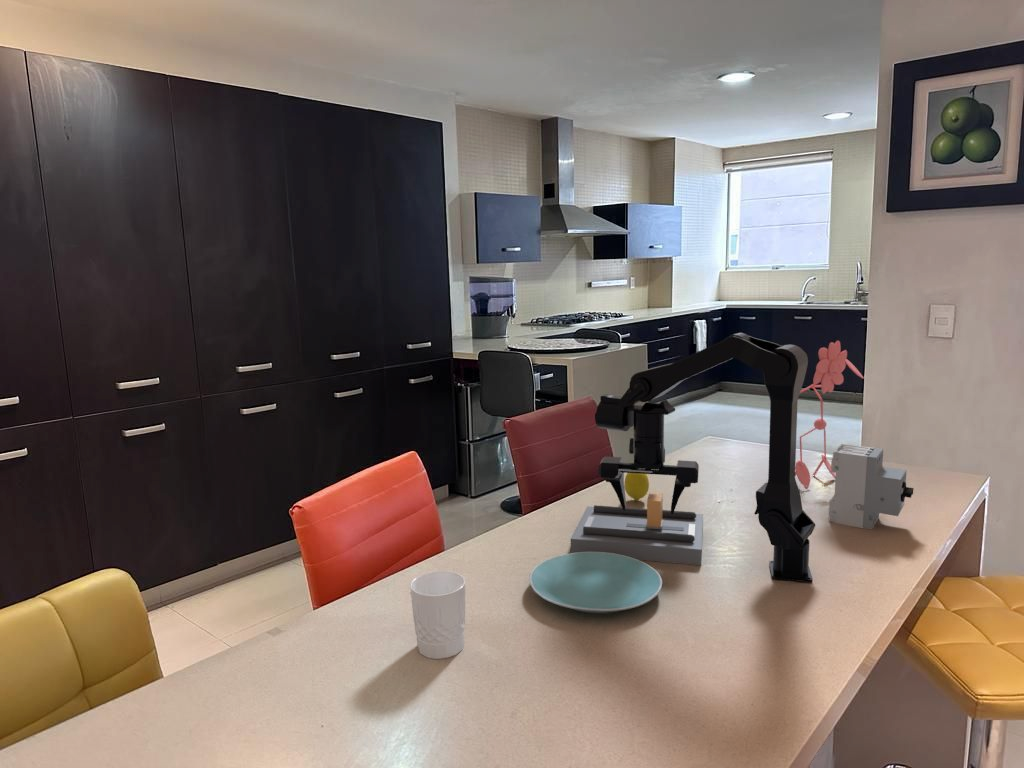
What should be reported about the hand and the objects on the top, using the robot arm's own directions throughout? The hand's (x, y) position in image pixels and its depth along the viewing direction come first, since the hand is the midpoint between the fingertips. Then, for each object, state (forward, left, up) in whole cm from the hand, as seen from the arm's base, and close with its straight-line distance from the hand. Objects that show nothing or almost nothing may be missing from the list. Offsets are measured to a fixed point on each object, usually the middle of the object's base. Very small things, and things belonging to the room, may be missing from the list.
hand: (648, 511), depth 135 cm
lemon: (+23, +5, -6) cm, 24 cm away
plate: (-23, +7, -7) cm, 25 cm away
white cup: (-45, +26, -6) cm, 52 cm away
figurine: (+42, -38, -6) cm, 57 cm away
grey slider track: (0, +1, -3) cm, 3 cm away
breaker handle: (0, -1, -3) cm, 3 cm away
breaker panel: (0, +2, -6) cm, 6 cm away
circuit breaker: (+19, -43, -6) cm, 48 cm away
